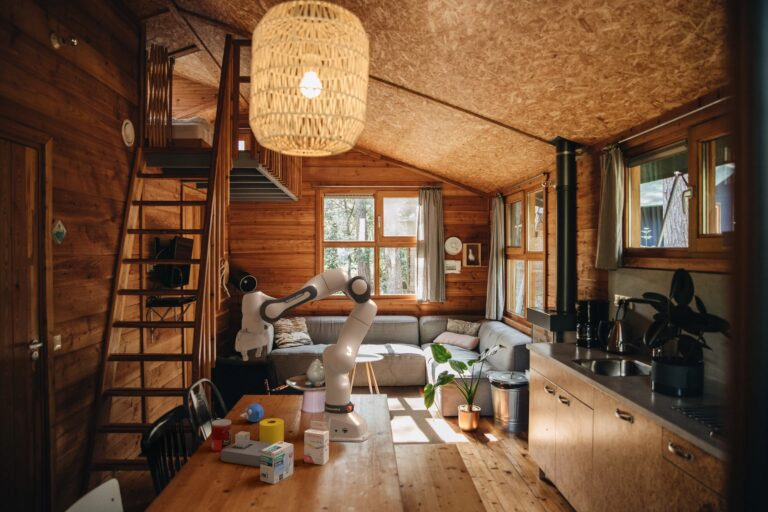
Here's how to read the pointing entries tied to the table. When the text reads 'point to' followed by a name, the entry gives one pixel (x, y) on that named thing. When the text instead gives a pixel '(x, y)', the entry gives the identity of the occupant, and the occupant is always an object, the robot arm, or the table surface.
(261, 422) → the tape roll
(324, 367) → the robot arm
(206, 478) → the table surface
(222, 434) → the canned food
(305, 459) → the ink cartridge box
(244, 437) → the square peg
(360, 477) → the table surface
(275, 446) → the light bulb box
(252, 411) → the blue mole toy
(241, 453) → the socket block
